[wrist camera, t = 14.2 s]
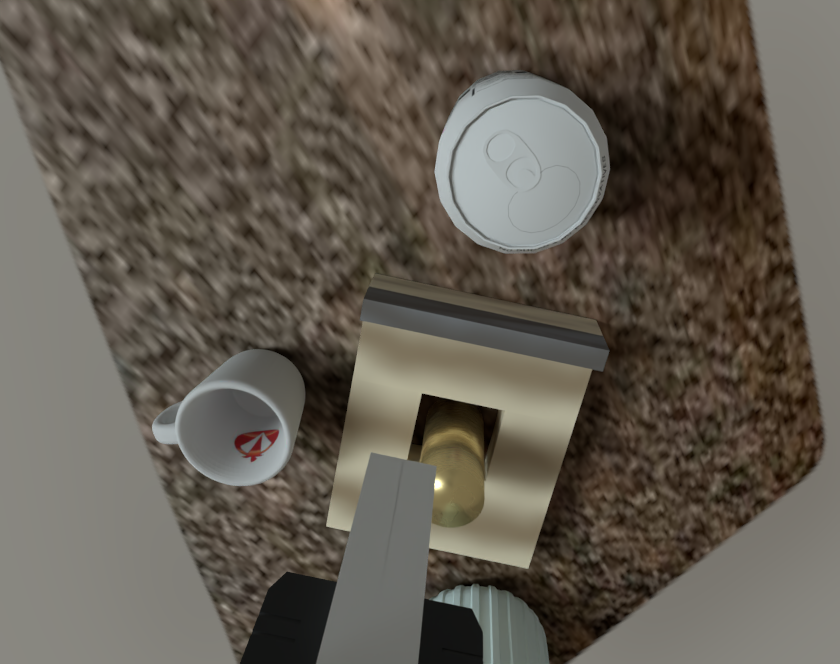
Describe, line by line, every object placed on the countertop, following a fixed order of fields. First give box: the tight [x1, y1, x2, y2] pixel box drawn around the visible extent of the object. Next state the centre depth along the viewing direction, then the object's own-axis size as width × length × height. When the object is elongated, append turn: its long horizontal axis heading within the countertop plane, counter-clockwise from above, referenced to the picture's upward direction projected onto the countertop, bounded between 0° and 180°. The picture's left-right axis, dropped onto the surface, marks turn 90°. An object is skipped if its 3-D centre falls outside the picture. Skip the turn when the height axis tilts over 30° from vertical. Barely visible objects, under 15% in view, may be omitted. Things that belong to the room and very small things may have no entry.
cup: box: [152, 349, 305, 486], centre depth 51 cm, size 11×8×8 cm
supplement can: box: [435, 70, 610, 253], centre depth 39 cm, size 8×8×15 cm
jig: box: [326, 273, 609, 569], centre depth 52 cm, size 20×16×6 cm
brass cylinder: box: [420, 398, 485, 528], centre depth 50 cm, size 4×4×10 cm
